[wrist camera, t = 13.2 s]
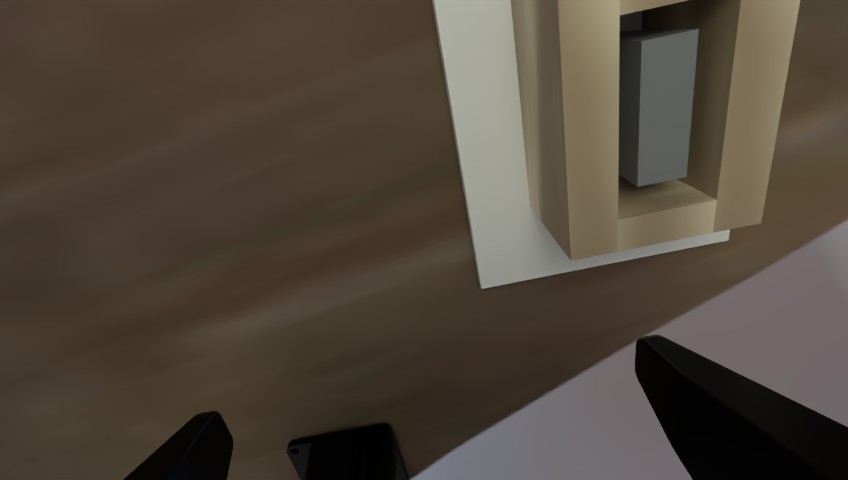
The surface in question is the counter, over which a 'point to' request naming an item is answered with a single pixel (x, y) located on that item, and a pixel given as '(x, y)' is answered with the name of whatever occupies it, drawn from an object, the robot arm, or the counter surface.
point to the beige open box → (599, 119)
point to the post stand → (504, 143)
